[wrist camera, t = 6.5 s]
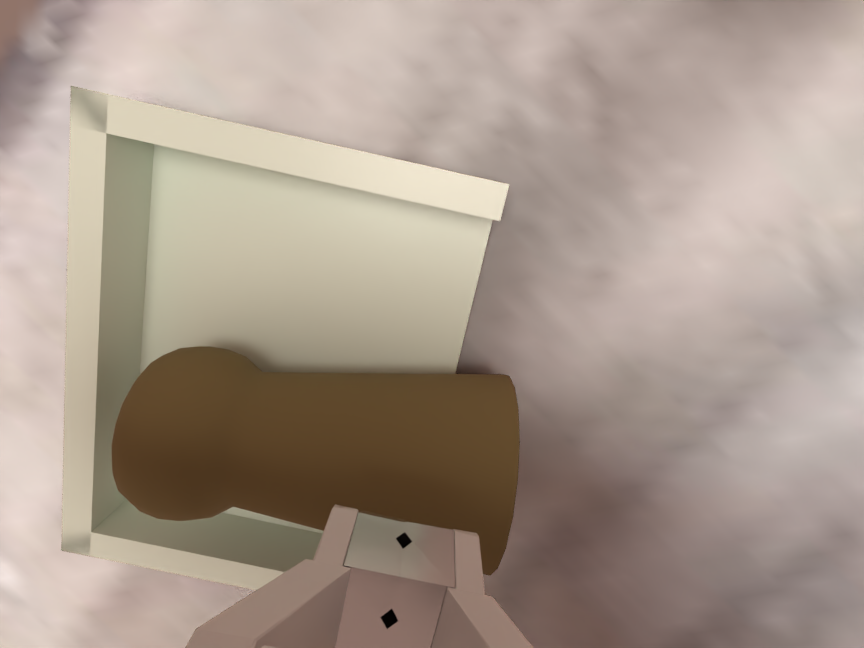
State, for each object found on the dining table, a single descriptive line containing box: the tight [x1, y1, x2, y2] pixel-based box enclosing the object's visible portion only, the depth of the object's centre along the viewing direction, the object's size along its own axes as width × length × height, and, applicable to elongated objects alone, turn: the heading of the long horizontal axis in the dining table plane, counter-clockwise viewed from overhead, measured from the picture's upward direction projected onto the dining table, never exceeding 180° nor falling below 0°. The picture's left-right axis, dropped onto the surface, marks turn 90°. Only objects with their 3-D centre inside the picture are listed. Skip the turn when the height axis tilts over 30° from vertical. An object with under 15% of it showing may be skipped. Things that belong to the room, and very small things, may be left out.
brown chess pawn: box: [112, 346, 520, 575], centre depth 15 cm, size 6×6×11 cm
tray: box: [61, 86, 509, 590], centre depth 16 cm, size 12×15×3 cm
